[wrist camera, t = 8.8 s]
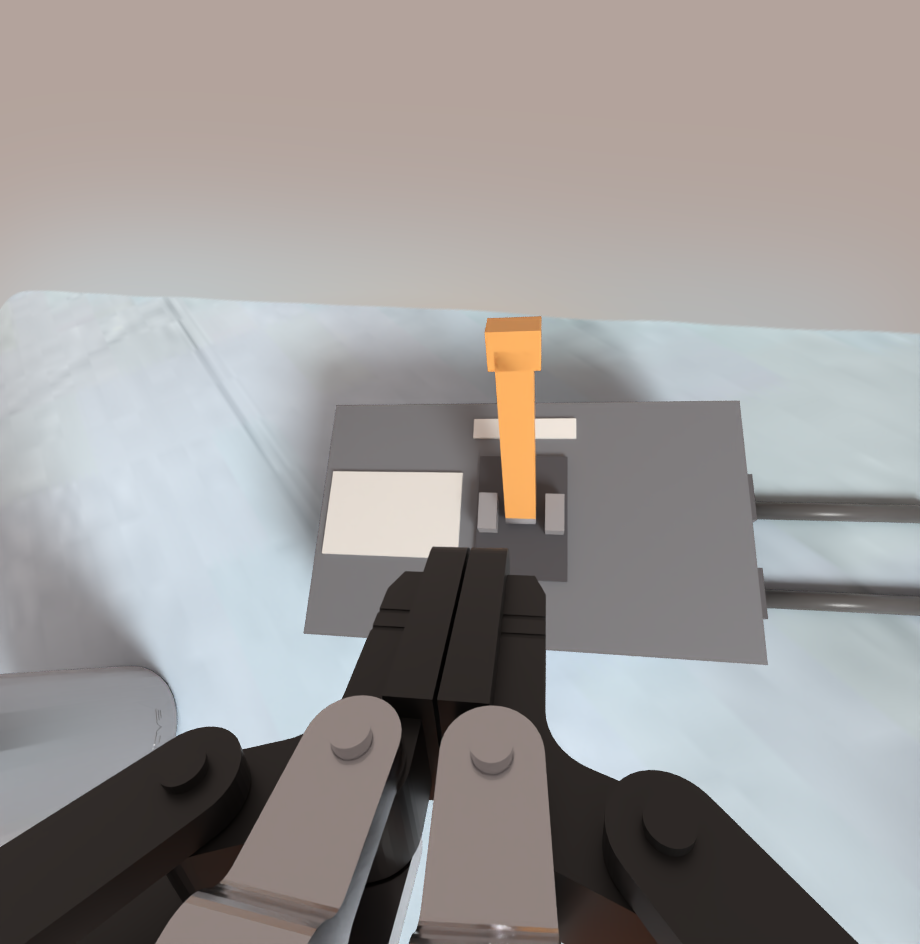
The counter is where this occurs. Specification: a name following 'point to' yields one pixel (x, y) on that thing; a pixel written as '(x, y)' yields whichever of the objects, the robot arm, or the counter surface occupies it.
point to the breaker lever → (516, 408)
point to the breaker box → (573, 523)
